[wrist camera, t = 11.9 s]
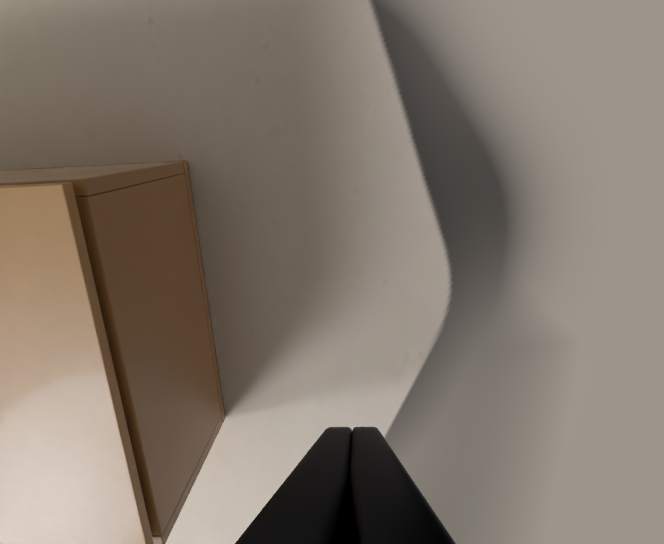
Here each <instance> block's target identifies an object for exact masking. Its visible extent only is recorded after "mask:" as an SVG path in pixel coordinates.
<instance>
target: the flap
mask: <svg viewBox="0 0 664 544" xmlns="http://www.w3.org/2000/svg"><path fill="white" fill-rule="evenodd" d="M0 544H154V542H153V538H152V534H151V529H150V525H149V520H148V516H147V512H146V507H145V503H144V498H143V494H142V489H141V485H140V481H139V476H138V472H137V467H136V463H135V459H134V454H133V450H132V445H131V441H130V437H129V432H128V428H127V423H126V419H125V414H124V410H123V406H122V401H121V397H120V392H119V388H118V384H117V379H116V375H115V370H114V366H113V362H112V357H111V353H110V348H109V344H108V339H107V335H106V331H105V326H104V322H103V317H102V313H101V309H100V304H99V300H98V295H97V291H96V287H95V282H94V278H93V273H92V269H91V264H90V260H89V256H88V251H87V247H86V242H85V238H84V234H83V229H82V225H81V220H80V216H79V212H78V207H77V203H76V198H75V194H74V189H73V185H72V183H70V182H66V183H46V184H25V185H5V186H0Z"/></svg>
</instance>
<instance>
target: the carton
mask: <svg viewBox="0 0 664 544" xmlns="http://www.w3.org/2000/svg"><path fill="white" fill-rule="evenodd" d="M66 182H70V183H72V185H73V189H74V194H75V198H76V203H77V207H78V212H79V216H80V220H81V225H82V229H83V234H84V238H85V242H86V247H87V251H88V256H89V260H90V264H91V269H92V273H93V278H94V282H95V287H96V291H97V295H98V300H99V304H100V309H101V313H102V317H103V322H104V326H105V331H106V335H107V339H108V344H109V348H110V353H111V357H112V362H113V366H114V370H115V375H116V379H117V384H118V388H119V392H120V397H121V401H122V406H123V410H124V414H125V419H126V423H127V428H128V432H129V437H130V441H131V445H132V450H133V454H134V459H135V463H136V467H137V472H138V476H139V481H140V485H141V489H142V494H143V498H144V503H145V507H146V512H147V516H148V520H149V525H150V529H151V534H152V538H153V542H154V544H165V543H166V541H167V539H168V536H169V534H170V532H171V530H172V528H173V526H174V524H175V522H176V520H177V518H178V516H179V513H180V511H181V509H182V507H183V505H184V503H185V501H186V499H187V497H188V495H189V493H190V491H191V488H192V486H193V484H194V482H195V480H196V478H197V476H198V474H199V472H200V470H201V468H202V465H203V463H204V461H205V459H206V457H207V455H208V453H209V451H210V449H211V447H212V445H213V443H214V440H215V438H216V436H217V434H218V432H219V430H220V428H221V426H222V423H223V422H224V420H225V413H224V407H223V400H222V393H221V386H220V380H219V373H218V366H217V359H216V353H215V346H214V339H213V332H212V326H211V319H210V312H209V305H208V299H207V292H206V285H205V278H204V272H203V265H202V258H201V251H200V245H199V238H198V231H197V224H196V218H195V211H194V204H193V197H192V190H191V184H190V177H189V170H188V163H187V161H170V162H151V163H132V164H114V165H95V166H76V167H58V168H39V169H21V170H2V171H0V186H5V185H25V184H46V183H66Z"/></svg>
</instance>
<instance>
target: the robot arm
mask: <svg viewBox="0 0 664 544" xmlns="http://www.w3.org/2000/svg"><path fill="white" fill-rule="evenodd" d="M235 544H456V543H455V542H454V541H453V539H452V538H451V536H450V535H449V533H448V532H447V530H446V529H445V527H444V526H443V524H442V523H441V521H440V520H439V518H438V517H437V516H436V514H435V512H434V511H433V510H432V508H431V507H430V505H429V504H428V502H427V501H426V499H425V498H424V496H423V495H422V494H421V492H420V491H419V489H418V488H417V486H416V485H415V483H414V481H413V480H412V479H411V477H410V476H409V474H408V473H407V471H406V470H405V468H404V467H403V465H402V464H401V462H400V461H399V459H398V458H397V456H396V455H395V453H394V452H393V451H392V449H391V448H390V446H389V445H388V443H387V442H386V440H385V439H384V437H383V436H382V434H381V433H380V431H379V430H378V429H377V428H376V427H355V428H354V429H353V430H351V429H350V428H349V427H329V428H327V429H326V430H325V431H324V432H323V434H322V435H321V436H320V437H319V439H318V440H317V441H316V442H315V444H314V445H313V446H312V447H311V449H310V450H309V451H308V452H307V454H306V455H305V456H304V457H303V459H302V460H301V461H300V463H299V464H298V465H297V466H296V468H295V469H294V470H293V471H292V473H291V474H290V475H289V476H288V478H287V479H286V480H285V481H284V483H283V484H282V485H281V486H280V488H279V489H278V490H277V491H276V493H275V494H274V495H273V497H272V498H271V499H270V500H269V502H268V503H267V504H266V505H265V507H264V508H263V509H262V510H261V512H260V513H259V514H258V515H257V517H256V518H255V519H254V520H253V522H252V523H251V524H250V525H249V527H248V528H247V529H246V531H245V532H244V533H243V534H242V536H241V537H240V538H239V539H238V541H237V542H236V543H235Z"/></svg>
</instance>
